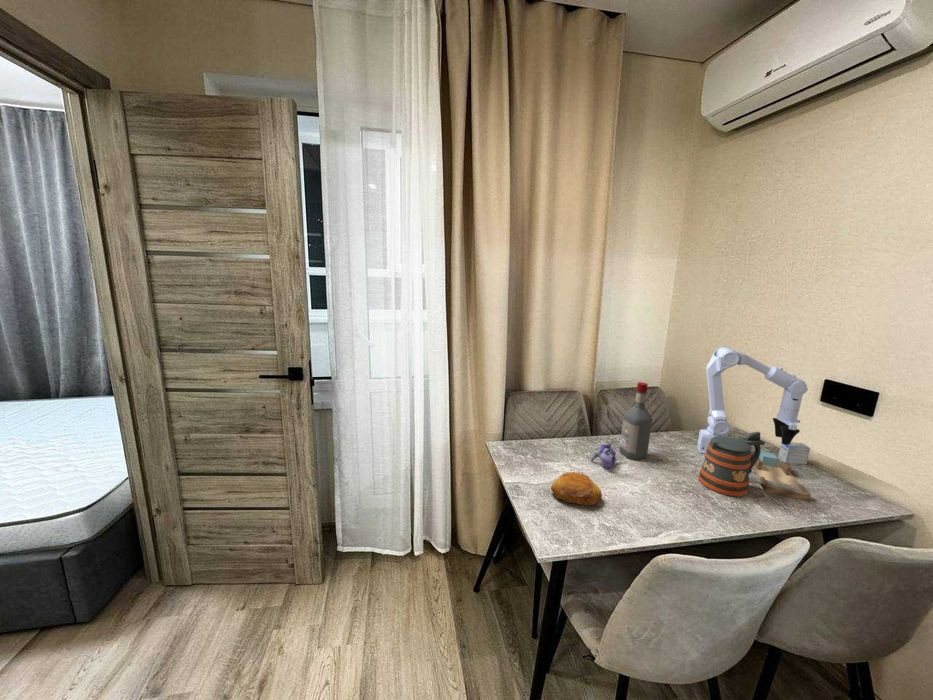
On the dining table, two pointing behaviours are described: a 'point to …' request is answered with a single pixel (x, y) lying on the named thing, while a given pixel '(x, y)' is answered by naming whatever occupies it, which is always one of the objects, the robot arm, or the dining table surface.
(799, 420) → the robot arm
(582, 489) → the bread loaf
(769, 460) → the block
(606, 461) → the flower
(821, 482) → the dining table surface
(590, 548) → the dining table surface
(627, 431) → the liquor
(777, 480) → the deck
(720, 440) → the beer stein
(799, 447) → the medicine box
